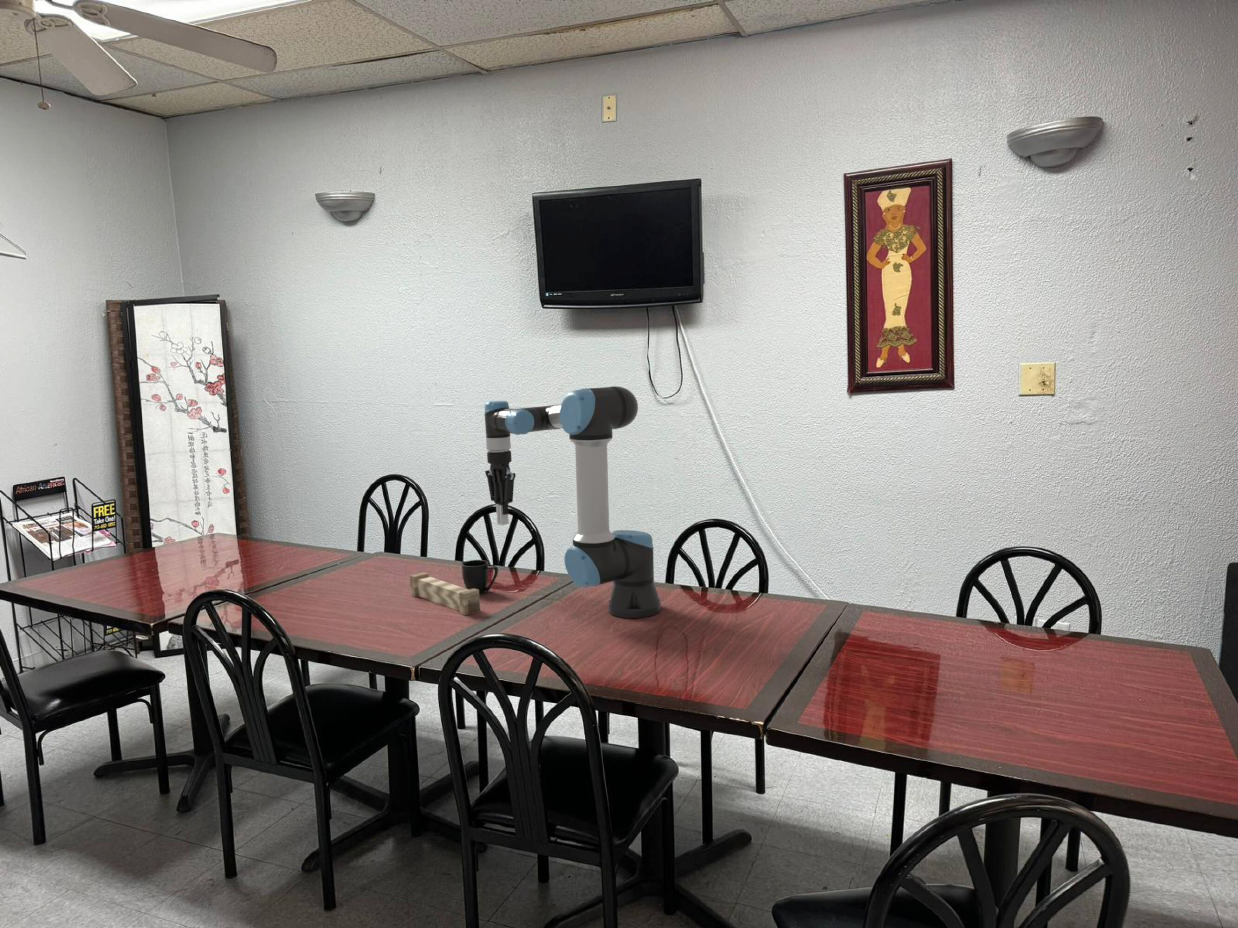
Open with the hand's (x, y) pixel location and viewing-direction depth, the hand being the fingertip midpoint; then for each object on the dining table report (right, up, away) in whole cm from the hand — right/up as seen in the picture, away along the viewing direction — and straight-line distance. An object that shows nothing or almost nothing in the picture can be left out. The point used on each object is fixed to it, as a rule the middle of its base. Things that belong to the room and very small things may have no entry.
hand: (502, 523), depth 280 cm
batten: (-16, -23, -12) cm, 30 cm away
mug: (-6, -22, -3) cm, 23 cm away
